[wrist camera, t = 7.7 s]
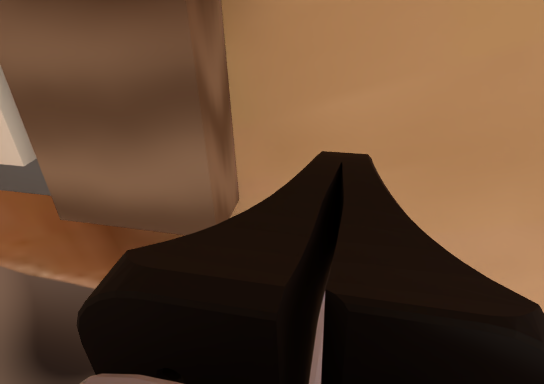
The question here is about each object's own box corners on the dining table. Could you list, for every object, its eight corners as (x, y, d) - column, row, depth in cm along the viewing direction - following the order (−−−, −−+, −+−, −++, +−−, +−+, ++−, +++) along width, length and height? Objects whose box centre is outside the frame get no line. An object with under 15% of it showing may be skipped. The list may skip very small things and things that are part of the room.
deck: (239, 199, 25) (217, 239, 22) (99, 185, 27) (60, 219, 24) (215, -64, 18) (177, -64, 14) (24, -56, 20) (-46, -54, 17)
